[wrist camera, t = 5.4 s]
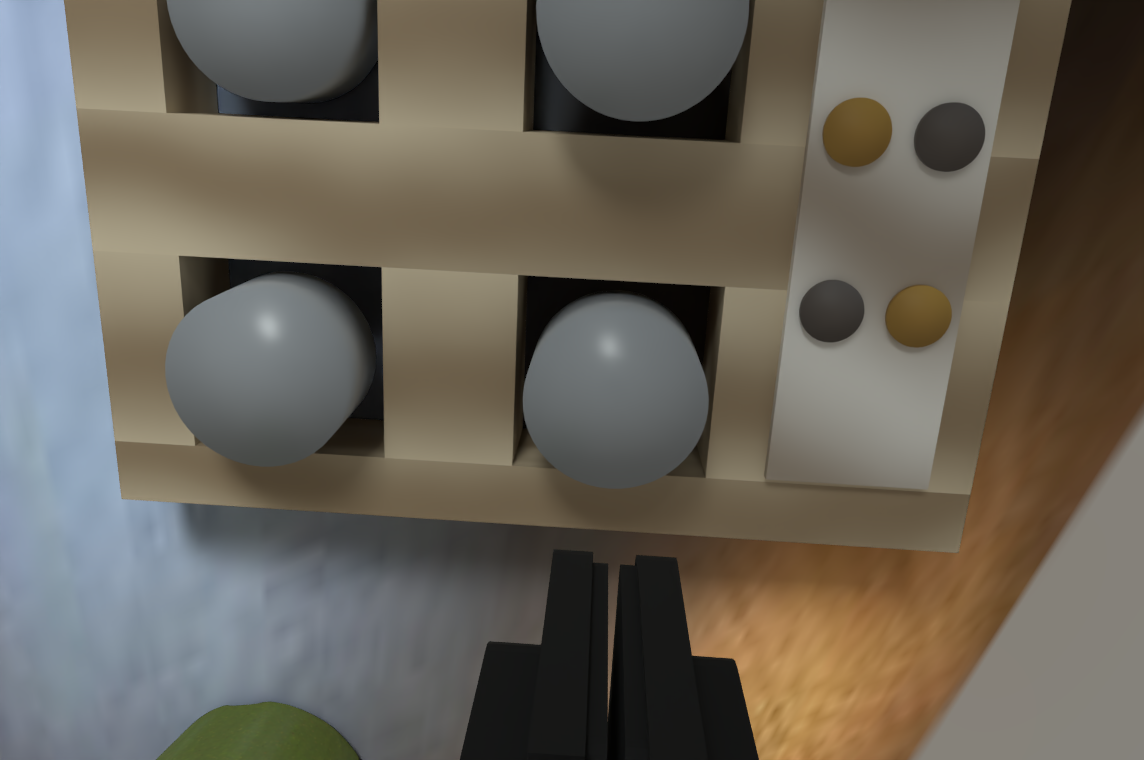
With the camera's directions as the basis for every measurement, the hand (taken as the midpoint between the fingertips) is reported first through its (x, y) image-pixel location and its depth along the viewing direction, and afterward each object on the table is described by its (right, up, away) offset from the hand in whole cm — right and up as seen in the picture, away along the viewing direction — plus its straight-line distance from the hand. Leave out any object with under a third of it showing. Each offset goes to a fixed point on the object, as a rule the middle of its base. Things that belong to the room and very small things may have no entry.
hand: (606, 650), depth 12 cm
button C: (-8, +4, +13) cm, 16 cm away
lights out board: (-1, +9, +13) cm, 16 cm away
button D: (+1, +4, +12) cm, 13 cm away
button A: (-8, +13, +12) cm, 19 cm away
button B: (+1, +12, +10) cm, 16 cm away
